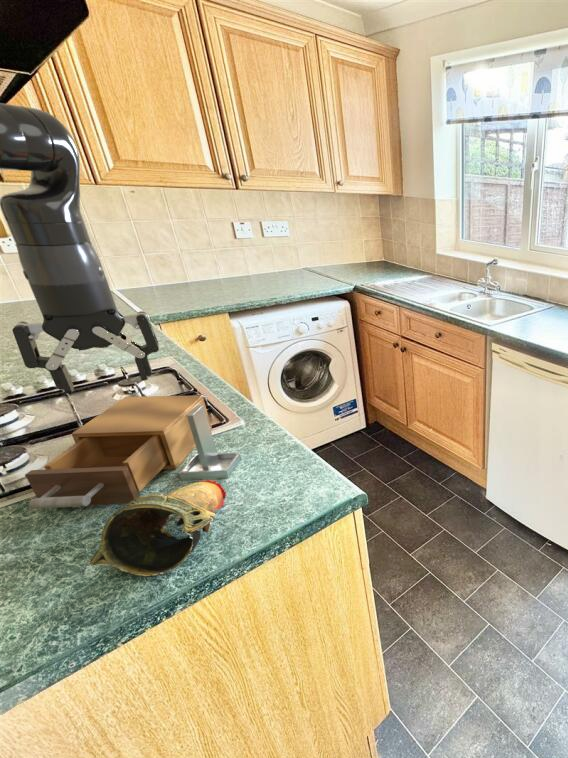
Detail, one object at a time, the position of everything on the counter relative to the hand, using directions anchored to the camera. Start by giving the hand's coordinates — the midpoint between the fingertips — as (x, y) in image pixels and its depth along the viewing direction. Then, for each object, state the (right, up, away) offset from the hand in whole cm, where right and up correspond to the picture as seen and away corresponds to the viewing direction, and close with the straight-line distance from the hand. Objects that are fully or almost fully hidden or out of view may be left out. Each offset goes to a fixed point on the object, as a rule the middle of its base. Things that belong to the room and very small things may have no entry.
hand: (108, 384), depth 64 cm
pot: (+11, -25, 0) cm, 27 cm away
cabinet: (-12, -13, +22) cm, 28 cm away
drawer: (-9, -18, +10) cm, 23 cm away
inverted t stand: (+3, -17, +17) cm, 24 cm away
